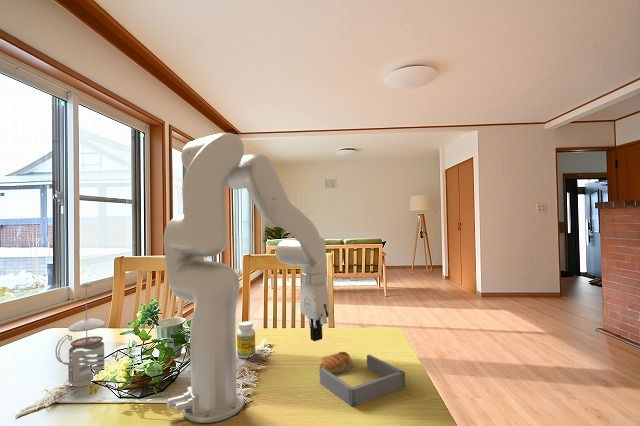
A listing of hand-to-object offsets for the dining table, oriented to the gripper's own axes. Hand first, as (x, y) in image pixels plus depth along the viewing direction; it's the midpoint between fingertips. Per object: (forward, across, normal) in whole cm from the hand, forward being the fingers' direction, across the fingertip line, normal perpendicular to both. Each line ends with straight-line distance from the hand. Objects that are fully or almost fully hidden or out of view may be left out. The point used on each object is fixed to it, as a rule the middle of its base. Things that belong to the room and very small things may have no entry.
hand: (316, 339), depth 105 cm
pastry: (+5, +11, 0) cm, 12 cm away
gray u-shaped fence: (+4, +22, -1) cm, 23 cm away
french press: (+3, -21, -59) cm, 62 cm away
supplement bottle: (+4, -12, -18) cm, 22 cm away
